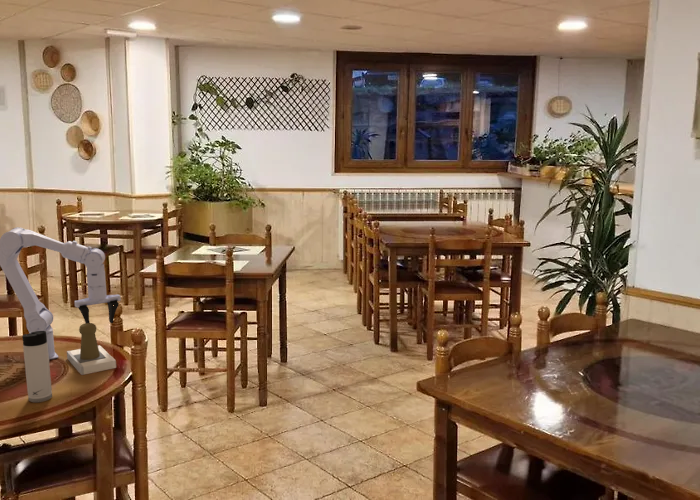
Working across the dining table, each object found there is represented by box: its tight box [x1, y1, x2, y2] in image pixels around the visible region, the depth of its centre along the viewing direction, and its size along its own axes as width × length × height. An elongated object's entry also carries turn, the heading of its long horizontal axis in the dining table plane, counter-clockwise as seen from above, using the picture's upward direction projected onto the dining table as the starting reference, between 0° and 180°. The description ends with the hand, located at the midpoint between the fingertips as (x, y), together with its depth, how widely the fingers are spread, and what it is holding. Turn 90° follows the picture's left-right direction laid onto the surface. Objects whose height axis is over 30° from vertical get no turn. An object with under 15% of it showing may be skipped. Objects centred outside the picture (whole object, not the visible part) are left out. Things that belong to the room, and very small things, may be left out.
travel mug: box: [22, 331, 53, 403], centre depth 195 cm, size 6×7×20 cm
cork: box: [78, 322, 100, 360], centre depth 222 cm, size 6×6×11 cm
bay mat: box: [74, 351, 106, 363], centre depth 223 cm, size 8×8×1 cm
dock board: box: [66, 345, 117, 376], centre depth 225 cm, size 18×11×3 cm, turn 35°
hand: (99, 324), depth 231 cm, fingers open, 7 cm apart
